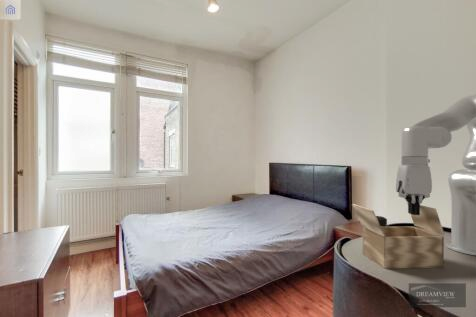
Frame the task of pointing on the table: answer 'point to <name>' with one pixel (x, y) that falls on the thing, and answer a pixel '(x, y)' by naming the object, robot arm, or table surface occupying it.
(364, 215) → the flap
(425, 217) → the flap
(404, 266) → the carton
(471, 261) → the table surface
